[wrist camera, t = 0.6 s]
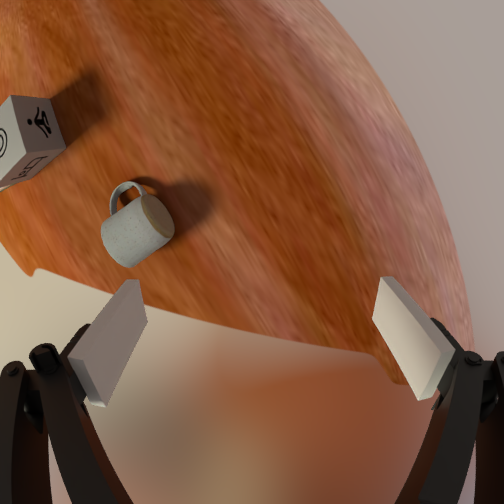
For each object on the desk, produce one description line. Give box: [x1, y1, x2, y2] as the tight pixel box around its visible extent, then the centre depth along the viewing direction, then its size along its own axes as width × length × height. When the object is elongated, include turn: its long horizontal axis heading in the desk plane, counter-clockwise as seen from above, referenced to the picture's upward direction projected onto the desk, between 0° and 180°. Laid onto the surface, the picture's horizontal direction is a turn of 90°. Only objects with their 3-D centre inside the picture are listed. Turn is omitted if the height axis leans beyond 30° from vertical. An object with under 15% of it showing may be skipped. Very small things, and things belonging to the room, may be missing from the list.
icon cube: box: [0, 95, 66, 188], centre depth 30 cm, size 10×10×10 cm
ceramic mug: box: [101, 181, 175, 268], centre depth 36 cm, size 11×8×8 cm
